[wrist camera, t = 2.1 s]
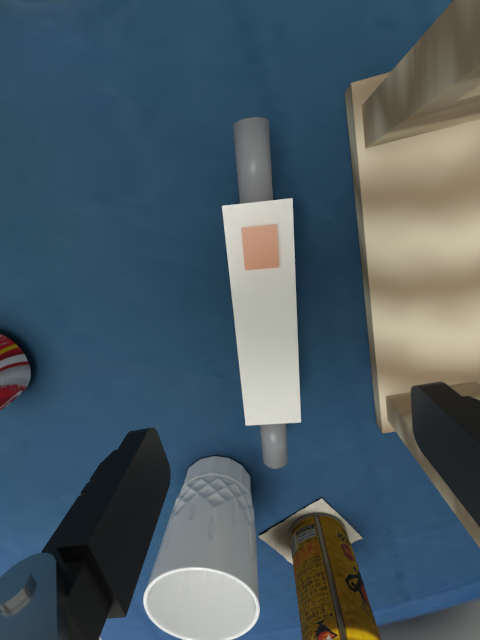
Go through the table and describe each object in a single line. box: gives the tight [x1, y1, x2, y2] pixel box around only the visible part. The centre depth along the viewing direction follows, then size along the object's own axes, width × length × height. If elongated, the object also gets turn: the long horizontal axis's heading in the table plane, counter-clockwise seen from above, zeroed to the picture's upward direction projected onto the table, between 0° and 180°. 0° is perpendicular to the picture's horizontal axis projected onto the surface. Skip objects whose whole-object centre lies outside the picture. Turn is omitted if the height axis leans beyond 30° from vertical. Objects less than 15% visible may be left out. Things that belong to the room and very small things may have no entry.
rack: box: [345, 0, 480, 548], centre depth 16 cm, size 26×8×12 cm, turn 13°
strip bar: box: [222, 117, 301, 469], centre depth 20 cm, size 23×4×6 cm, turn 6°
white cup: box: [144, 456, 260, 640], centre depth 24 cm, size 8×8×10 cm
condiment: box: [259, 498, 381, 640], centre depth 24 cm, size 7×8×12 cm
